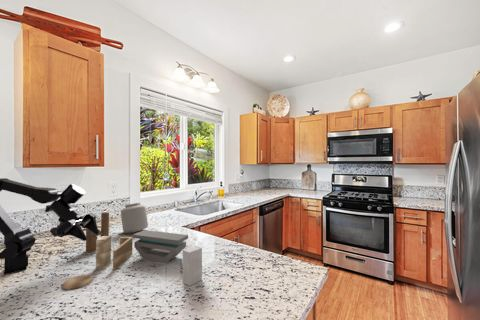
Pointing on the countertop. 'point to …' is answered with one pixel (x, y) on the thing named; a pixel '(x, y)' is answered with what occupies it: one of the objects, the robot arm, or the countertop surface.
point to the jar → (134, 218)
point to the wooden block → (93, 237)
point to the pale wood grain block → (103, 252)
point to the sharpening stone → (159, 245)
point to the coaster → (77, 282)
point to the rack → (122, 252)
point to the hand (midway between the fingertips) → (92, 236)
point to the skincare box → (192, 265)
